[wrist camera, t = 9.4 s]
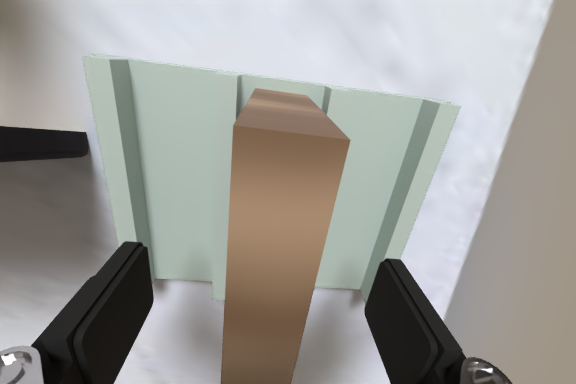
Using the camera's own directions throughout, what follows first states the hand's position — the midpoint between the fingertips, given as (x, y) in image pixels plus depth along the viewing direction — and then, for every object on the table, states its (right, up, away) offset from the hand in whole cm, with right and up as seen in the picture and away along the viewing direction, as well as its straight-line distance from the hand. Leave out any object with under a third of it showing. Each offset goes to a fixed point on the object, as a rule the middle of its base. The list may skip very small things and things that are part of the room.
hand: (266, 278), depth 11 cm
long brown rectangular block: (0, +3, +5) cm, 5 cm away
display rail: (0, +3, +6) cm, 7 cm away
